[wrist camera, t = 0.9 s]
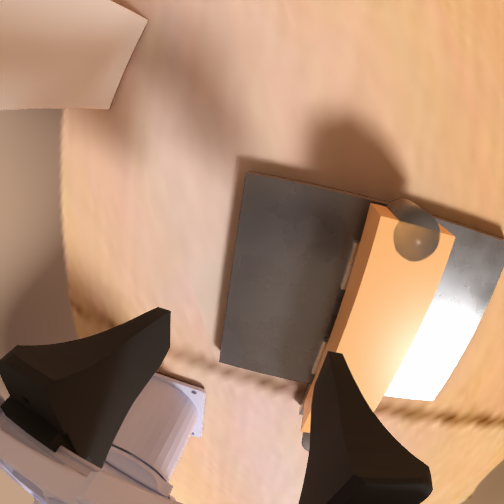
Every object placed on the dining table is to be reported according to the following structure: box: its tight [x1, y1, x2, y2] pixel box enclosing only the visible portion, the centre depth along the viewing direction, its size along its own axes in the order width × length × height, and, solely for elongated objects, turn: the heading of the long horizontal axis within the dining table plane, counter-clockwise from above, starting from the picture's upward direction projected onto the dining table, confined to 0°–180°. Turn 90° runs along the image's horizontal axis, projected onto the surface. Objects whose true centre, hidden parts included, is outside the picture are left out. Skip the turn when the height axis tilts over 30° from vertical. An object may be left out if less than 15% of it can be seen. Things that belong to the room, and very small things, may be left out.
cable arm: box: [301, 199, 455, 451], centre depth 17 cm, size 18×4×3 cm, turn 172°
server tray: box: [219, 171, 504, 415], centre depth 20 cm, size 18×18×2 cm
